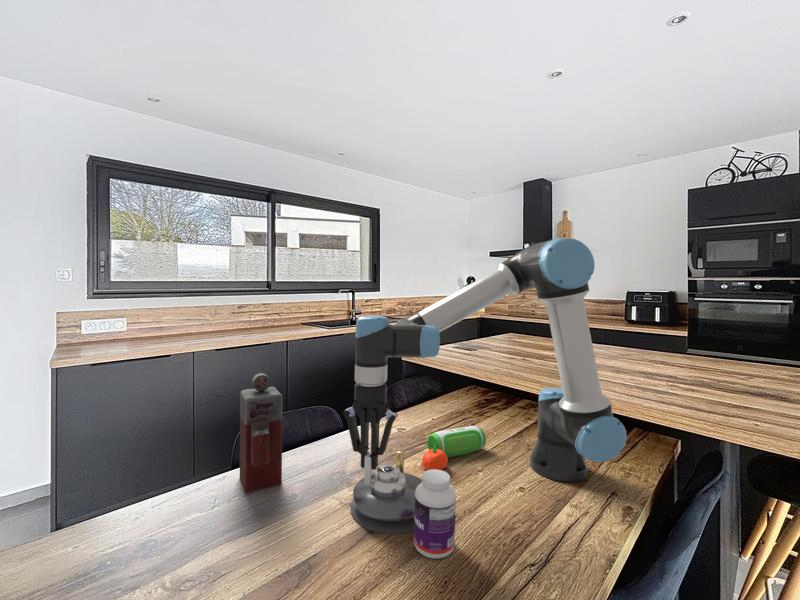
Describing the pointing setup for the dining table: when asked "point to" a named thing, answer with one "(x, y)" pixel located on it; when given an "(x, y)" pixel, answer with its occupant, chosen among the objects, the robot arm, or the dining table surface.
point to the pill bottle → (434, 515)
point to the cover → (388, 482)
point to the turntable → (387, 509)
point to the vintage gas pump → (260, 435)
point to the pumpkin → (434, 459)
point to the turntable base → (381, 524)
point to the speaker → (458, 440)
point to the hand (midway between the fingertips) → (369, 481)
